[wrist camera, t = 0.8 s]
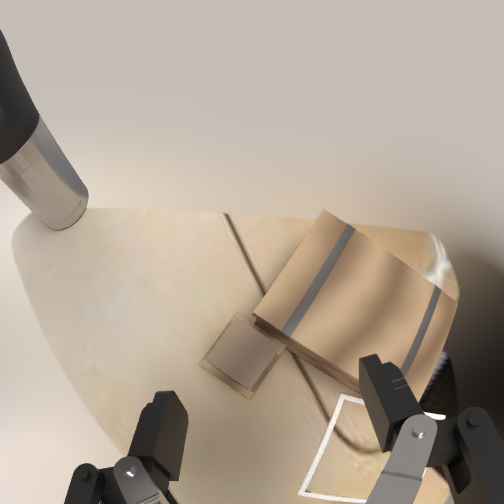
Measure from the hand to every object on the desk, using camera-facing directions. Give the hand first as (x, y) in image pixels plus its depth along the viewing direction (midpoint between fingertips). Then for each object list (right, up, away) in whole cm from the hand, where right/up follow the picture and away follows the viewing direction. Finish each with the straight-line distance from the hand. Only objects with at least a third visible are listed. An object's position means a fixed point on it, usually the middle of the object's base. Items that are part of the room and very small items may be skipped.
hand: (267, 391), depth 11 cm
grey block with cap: (-2, -7, +22) cm, 23 cm away
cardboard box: (+8, -6, +23) cm, 25 cm away
